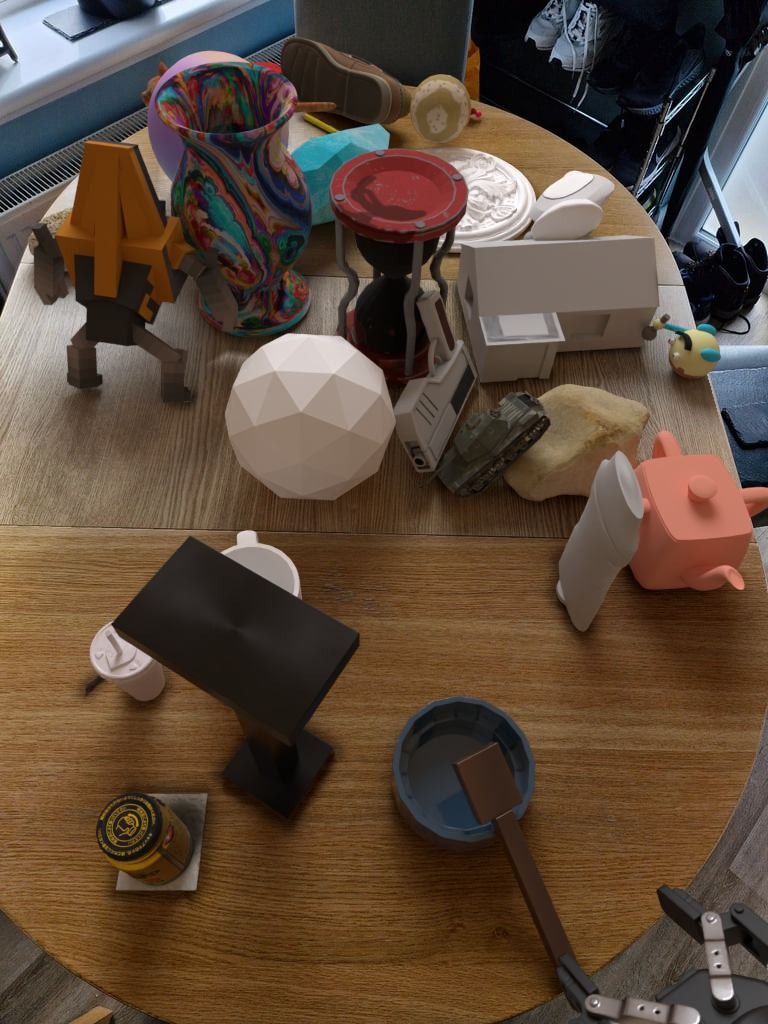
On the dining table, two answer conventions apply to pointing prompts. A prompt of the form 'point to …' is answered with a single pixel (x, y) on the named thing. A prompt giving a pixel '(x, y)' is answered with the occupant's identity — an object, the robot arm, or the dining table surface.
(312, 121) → the pencil
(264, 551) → the mug
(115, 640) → the smoothie
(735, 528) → the teapot
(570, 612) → the tall pale column
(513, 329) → the miniature house
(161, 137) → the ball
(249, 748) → the black pedestal stand
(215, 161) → the vase
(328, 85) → the boat shoe
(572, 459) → the stone
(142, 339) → the toy robot
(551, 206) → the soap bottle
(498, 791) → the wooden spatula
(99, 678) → the stick
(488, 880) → the dining table surface
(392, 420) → the geometric sculpture
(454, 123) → the mushroom
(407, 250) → the hourglass
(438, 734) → the bowl
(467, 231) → the ceiling medallion
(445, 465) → the toy tank
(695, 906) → the robot arm
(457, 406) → the futuristic handgun
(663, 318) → the figurine
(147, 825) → the condiment
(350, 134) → the crystal
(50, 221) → the decorative item
